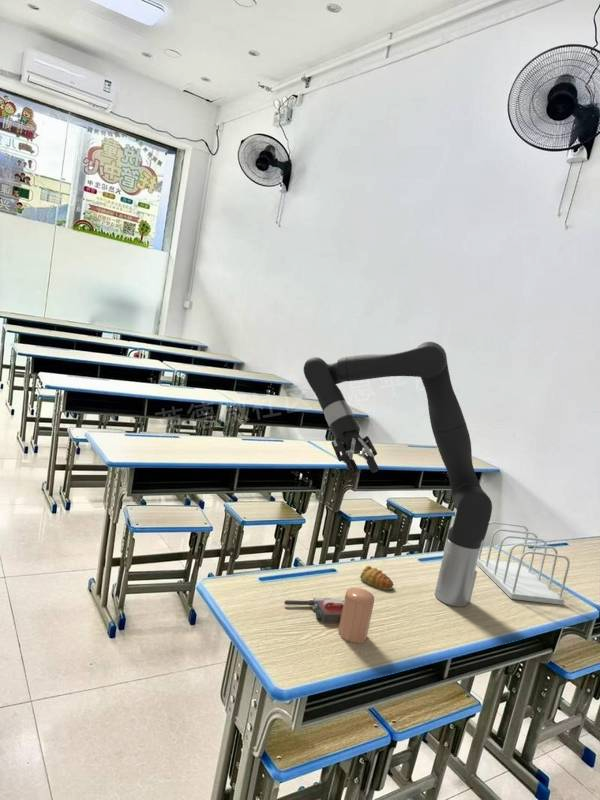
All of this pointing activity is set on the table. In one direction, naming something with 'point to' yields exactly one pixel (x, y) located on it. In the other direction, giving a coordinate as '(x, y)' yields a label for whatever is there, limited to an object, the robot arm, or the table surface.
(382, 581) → the pastry
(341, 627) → the cup
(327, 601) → the walkie-talkie
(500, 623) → the table surface
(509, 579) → the file sorter
